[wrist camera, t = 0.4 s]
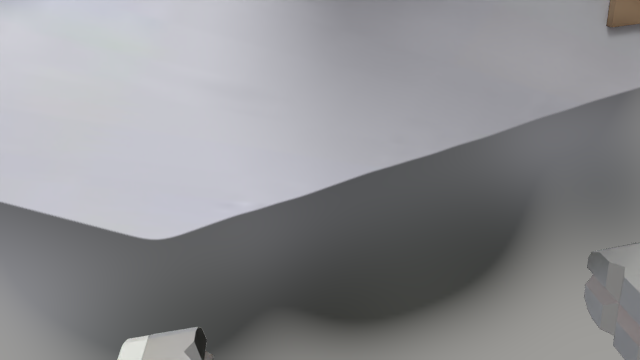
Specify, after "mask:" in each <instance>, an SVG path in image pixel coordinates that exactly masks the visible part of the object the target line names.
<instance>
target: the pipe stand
mask: <svg viewBox="0 0 640 360" xmlns="http://www.w3.org/2000/svg"><path fill="white" fill-rule="evenodd" d="M634 24H640V0H610V6H609V12H608V19H607V26H609V27H619V26H626V25H634Z"/></svg>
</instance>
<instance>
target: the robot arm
mask: <svg viewBox="0 0 640 360" xmlns="http://www.w3.org/2000/svg"><path fill="white" fill-rule="evenodd" d="M587 268H588V269H589V270H590V271H591V272H592V273H593V275H592V277H591V278H590V279H589V280H588V281H587V283H586V284H585V295H584V297H585V301H586V305H587V309H588V311H589V313H590V315H591V317H592V319H593V320H594V322H595V323H596V324H597V326H598V327H599V328H600V329H601V330H603V331H606V332H608V333H610V334H612V335H614V342H613V346H614V347H615V348H616V349H617V351H618V352H619V353H620V354H621V355H622V357H623V358H624V359H625V360H640V243H633V244H628V245H623V246H618V247H613V248H608V249H603V250H598V251H593V252H591V254H590V256H589V258H588V265H587ZM206 343H207V339H206V337H205V334H204V332H203V330H202V328H200V327H194V328H188V329H183V330H176V331H170V332H164V333H158V334H152V335H150V336H143V337H137V338H131V339H127V340H126V341H125V343H124V344H123V345H122V348H121V351H120V354H119V357H118V360H214V358H213V356H212V355H211V354H210V353H208V352H206V351H205V350H206Z"/></svg>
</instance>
